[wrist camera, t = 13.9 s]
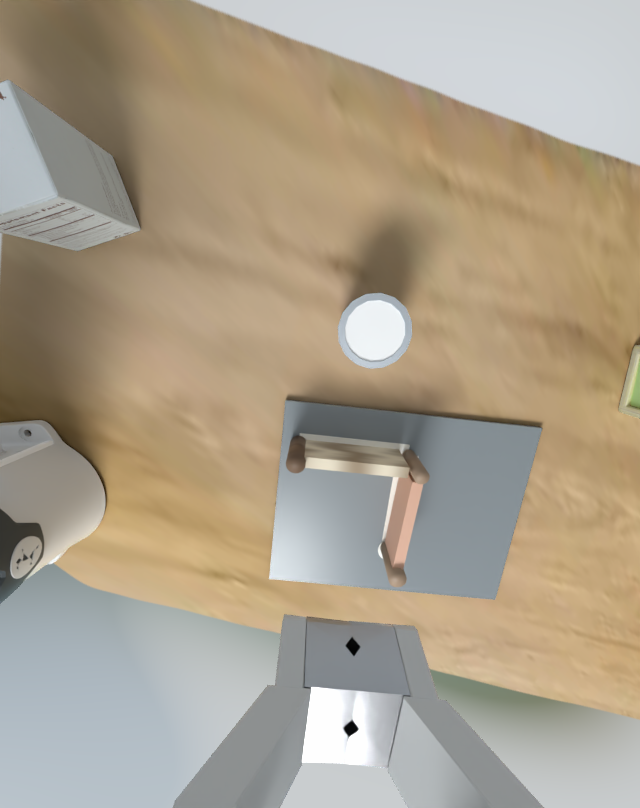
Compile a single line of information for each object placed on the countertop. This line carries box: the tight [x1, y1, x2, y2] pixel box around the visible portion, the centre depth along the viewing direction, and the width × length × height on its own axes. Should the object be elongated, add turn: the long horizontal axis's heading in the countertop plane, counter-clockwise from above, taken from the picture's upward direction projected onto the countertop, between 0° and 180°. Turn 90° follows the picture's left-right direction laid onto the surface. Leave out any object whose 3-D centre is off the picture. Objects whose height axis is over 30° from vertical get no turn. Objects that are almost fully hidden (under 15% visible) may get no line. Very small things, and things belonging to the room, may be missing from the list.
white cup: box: [338, 293, 412, 369], centre depth 37 cm, size 7×7×7 cm
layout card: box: [269, 400, 542, 600], centre depth 45 cm, size 30×24×1 cm
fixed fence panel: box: [286, 435, 410, 478], centre depth 40 cm, size 13×2×6 cm, turn 84°
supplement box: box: [0, 80, 141, 251], centre depth 31 cm, size 7×7×13 cm
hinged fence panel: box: [380, 450, 430, 587], centre depth 42 cm, size 14×2×6 cm, turn 172°
